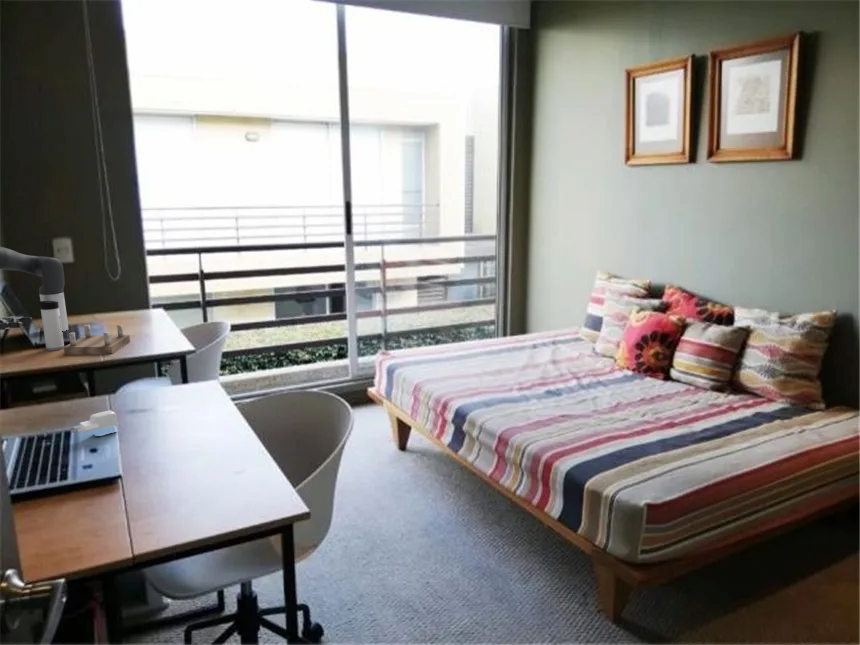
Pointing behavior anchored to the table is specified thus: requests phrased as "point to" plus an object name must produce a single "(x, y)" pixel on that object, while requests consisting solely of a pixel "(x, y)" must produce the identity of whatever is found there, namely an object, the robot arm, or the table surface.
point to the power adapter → (97, 422)
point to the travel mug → (52, 325)
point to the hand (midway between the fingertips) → (26, 322)
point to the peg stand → (96, 342)
